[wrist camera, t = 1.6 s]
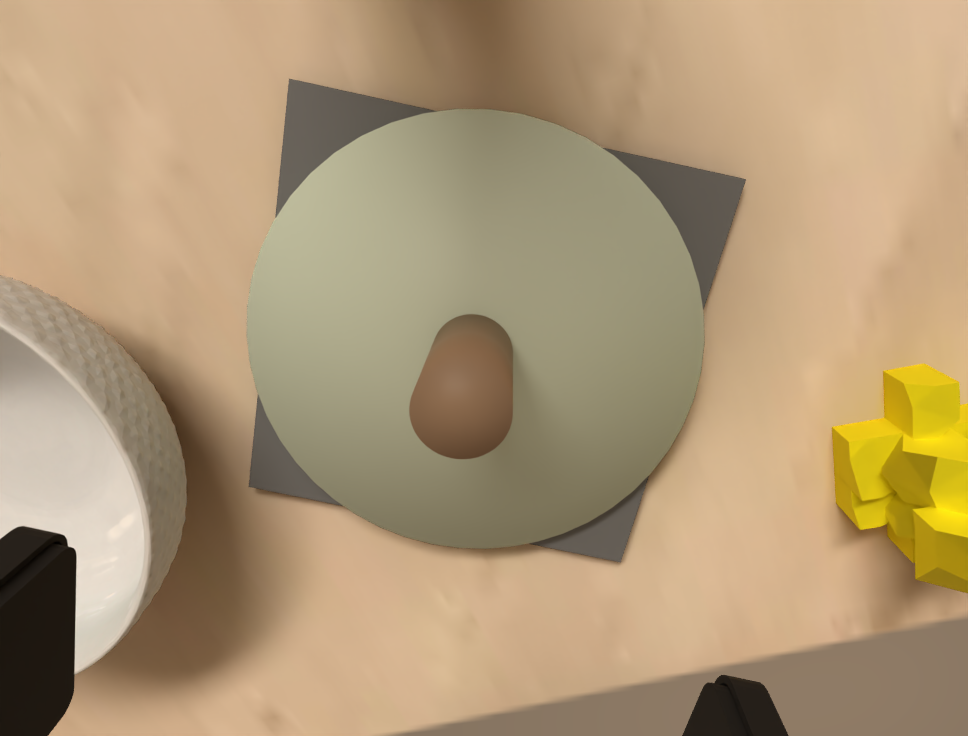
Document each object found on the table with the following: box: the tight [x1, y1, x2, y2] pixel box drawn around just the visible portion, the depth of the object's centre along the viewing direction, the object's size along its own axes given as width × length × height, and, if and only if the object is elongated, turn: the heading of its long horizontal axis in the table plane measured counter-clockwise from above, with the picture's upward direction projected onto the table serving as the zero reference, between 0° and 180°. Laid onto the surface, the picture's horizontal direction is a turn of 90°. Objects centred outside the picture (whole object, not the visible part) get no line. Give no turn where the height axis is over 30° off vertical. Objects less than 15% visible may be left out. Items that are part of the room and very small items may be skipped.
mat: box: [249, 79, 746, 562], centre depth 27 cm, size 17×17×1 cm
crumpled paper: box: [832, 364, 968, 593], centre depth 24 cm, size 6×8×8 cm
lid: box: [247, 109, 704, 549], centre depth 23 cm, size 18×18×7 cm
